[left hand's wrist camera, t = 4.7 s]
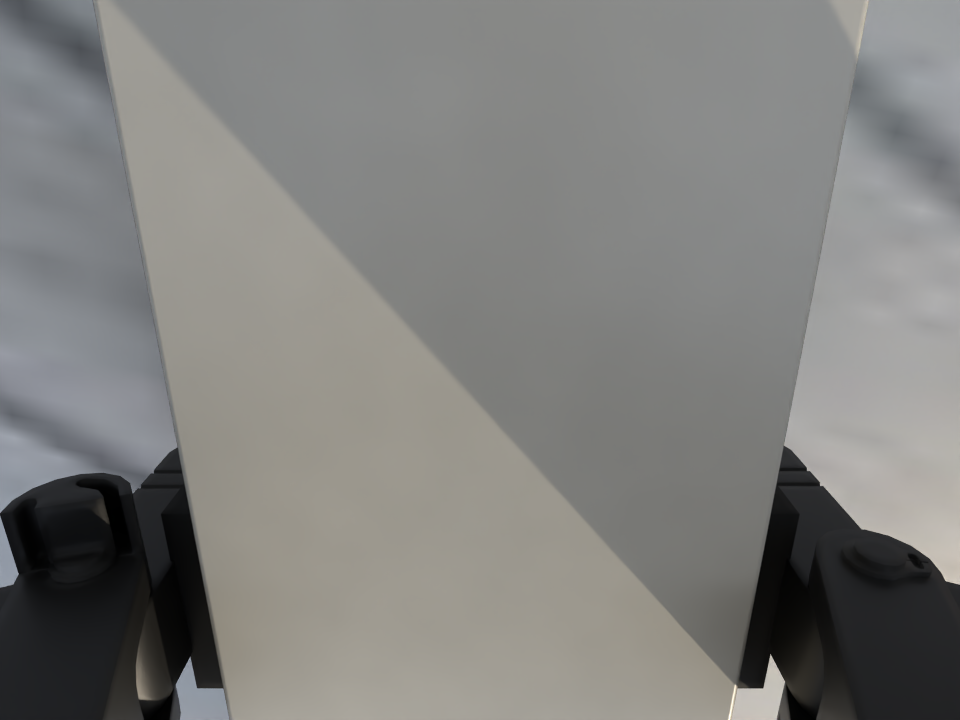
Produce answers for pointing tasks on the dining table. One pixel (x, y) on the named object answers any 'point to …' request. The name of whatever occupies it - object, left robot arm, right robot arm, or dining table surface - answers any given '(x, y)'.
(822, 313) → the dining table surface
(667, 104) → the beam
